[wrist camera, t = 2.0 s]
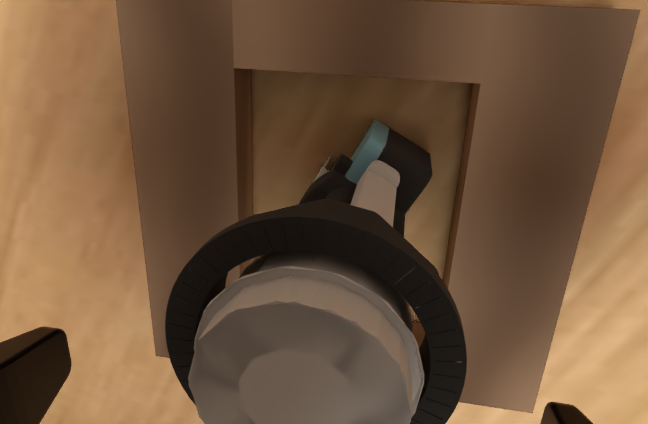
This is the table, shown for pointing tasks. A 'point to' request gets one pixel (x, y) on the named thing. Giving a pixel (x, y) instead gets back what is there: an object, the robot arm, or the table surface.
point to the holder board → (404, 63)
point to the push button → (322, 306)
